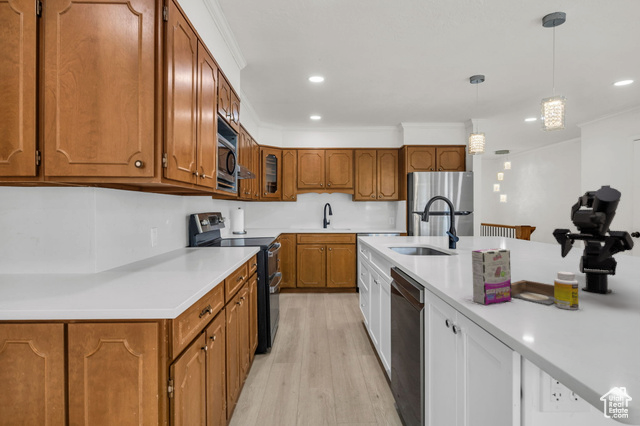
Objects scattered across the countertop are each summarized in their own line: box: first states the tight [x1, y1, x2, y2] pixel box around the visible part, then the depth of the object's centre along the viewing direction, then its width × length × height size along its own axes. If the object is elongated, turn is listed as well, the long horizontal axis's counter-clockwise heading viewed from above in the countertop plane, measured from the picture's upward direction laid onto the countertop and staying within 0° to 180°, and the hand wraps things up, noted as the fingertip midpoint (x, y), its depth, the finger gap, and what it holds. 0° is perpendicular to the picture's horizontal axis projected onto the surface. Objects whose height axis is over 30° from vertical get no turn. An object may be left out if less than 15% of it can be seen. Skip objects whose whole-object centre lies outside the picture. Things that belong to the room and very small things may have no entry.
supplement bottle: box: [553, 271, 580, 311], centre depth 90 cm, size 6×6×10 cm
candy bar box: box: [471, 248, 513, 306], centre depth 97 cm, size 11×5×16 cm, turn 109°
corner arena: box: [511, 279, 555, 307], centre depth 99 cm, size 12×12×4 cm
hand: (579, 258), depth 93 cm, fingers open, 9 cm apart
